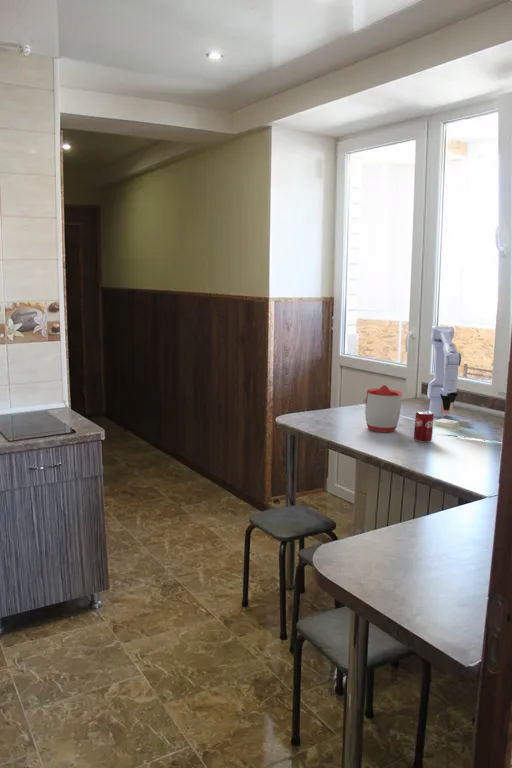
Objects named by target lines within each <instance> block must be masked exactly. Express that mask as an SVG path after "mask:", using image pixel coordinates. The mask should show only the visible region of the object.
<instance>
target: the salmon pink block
mask: <svg viewBox="0 0 512 768" xmlns="http://www.w3.org/2000/svg"><path fill="white" fill-rule="evenodd" d="M453 406H454V404H453V402H451V404H450V408H449V410H444V408H443V402H442V404H441V413H443V414H447V415H452V414H453V409H454V408H453Z"/></svg>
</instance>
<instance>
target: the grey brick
mask: <svg viewBox="0 0 512 768" xmlns="http://www.w3.org/2000/svg"><path fill="white" fill-rule="evenodd" d="M470 423H471V420H470V419H463V418H461V419H460V420H459V426H462V427H467V428H469V427H470Z"/></svg>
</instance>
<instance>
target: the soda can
mask: <svg viewBox="0 0 512 768" xmlns="http://www.w3.org/2000/svg"><path fill="white" fill-rule="evenodd" d="M434 418H435V417H434V414H433V413H432V412H429V410H417V411H415V418H414V430H413V440H414V441H415V440H416V441H415V442H418V441H419V442H418V443H423V442H428V443H431V442H430V441H432V440H433V439H432V438H433V429H434V427H433V421H435V419H434Z"/></svg>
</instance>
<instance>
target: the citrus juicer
mask: <svg viewBox="0 0 512 768" xmlns="http://www.w3.org/2000/svg"><path fill="white" fill-rule="evenodd" d="M402 396H403V392H402V391H399V390H394V389H390V388H389V387H388V386H387V385H386V384H383V385H382V386H381V387H379V388H370V389H369V388H368V389H367V392H366V396H365V397H363V398H362V399H361V401H360V403H365V406H364V407H365V409H364V414H365V415H364V416H365V421H366V422H365V423H366V426H367V429H369V430H370V431H372V430H373V431H372V432H379V433H388V432H390V433H391V432H395V430H396V429H397V426H398V423H399V421H400V417H401V409H402V408H401V407H402Z"/></svg>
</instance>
